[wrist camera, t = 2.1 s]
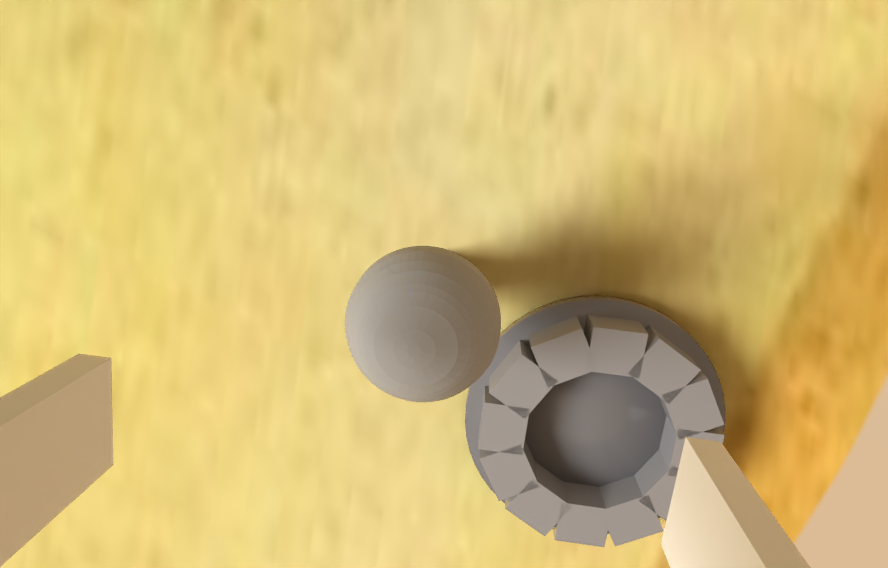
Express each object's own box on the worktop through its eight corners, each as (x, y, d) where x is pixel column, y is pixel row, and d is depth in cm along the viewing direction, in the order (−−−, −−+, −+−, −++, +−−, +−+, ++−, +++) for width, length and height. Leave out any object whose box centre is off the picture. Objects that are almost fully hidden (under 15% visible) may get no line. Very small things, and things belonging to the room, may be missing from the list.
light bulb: (406, 345, 31) (367, 450, 21) (363, 239, 30) (301, 299, 20) (515, 309, 30) (526, 401, 20) (475, 198, 29) (466, 241, 19)
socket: (482, 280, 30) (481, 295, 27) (745, 313, 29) (769, 332, 27) (452, 506, 33) (449, 538, 30) (689, 540, 32) (706, 576, 30)
